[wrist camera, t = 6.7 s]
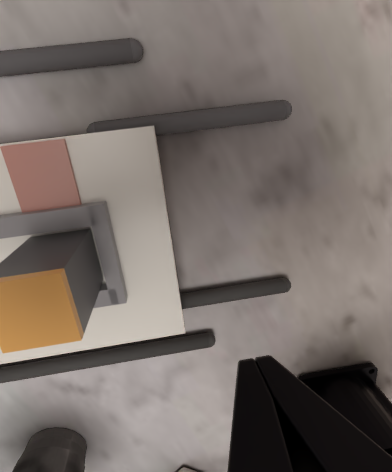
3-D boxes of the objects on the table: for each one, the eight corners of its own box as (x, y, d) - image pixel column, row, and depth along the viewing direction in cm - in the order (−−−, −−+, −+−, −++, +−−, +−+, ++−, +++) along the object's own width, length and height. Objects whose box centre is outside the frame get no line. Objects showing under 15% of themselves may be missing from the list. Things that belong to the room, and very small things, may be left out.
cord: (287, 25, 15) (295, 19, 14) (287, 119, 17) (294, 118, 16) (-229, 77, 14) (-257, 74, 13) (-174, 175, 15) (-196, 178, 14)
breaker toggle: (90, 228, 15) (60, 273, 11) (103, 279, 16) (81, 340, 12) (30, 236, 15) (-27, 286, 10) (47, 288, 16) (2, 353, 11)
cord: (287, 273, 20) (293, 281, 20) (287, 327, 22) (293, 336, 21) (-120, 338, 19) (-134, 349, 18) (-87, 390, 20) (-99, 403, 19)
